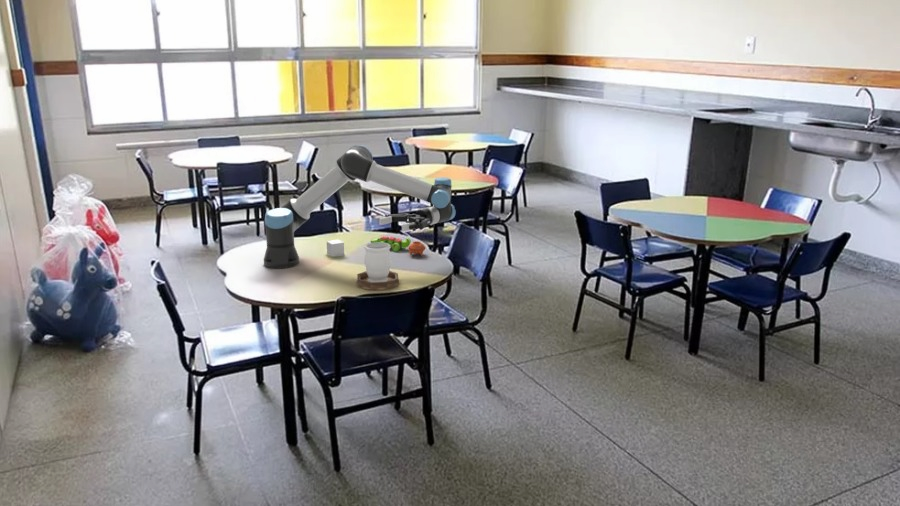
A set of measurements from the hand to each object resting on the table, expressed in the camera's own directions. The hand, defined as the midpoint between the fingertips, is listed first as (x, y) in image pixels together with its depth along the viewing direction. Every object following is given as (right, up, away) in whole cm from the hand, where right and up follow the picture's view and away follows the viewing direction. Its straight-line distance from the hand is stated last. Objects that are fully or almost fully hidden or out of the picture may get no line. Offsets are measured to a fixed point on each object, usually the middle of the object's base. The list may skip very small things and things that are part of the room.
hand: (390, 225), depth 283 cm
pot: (+9, -12, +33) cm, 37 cm away
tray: (-5, -24, -4) cm, 24 cm away
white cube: (-28, -12, +32) cm, 45 cm away
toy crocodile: (-4, -9, +43) cm, 44 cm away
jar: (-5, -23, -4) cm, 24 cm away
